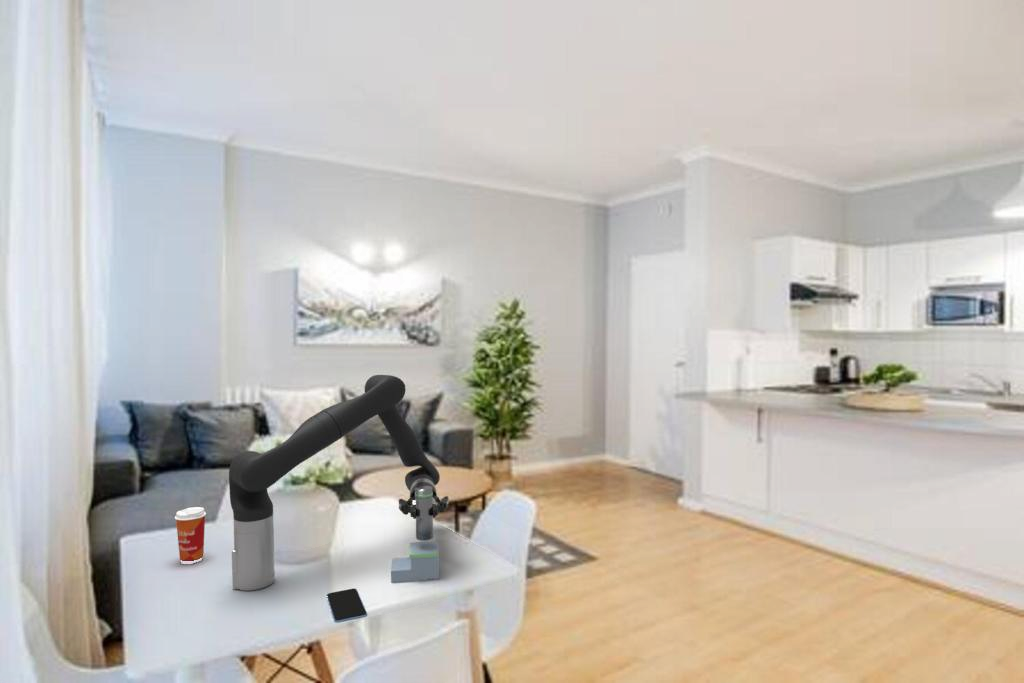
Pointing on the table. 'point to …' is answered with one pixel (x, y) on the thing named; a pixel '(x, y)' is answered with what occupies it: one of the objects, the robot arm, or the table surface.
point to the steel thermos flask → (424, 513)
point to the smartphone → (346, 605)
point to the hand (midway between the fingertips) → (424, 514)
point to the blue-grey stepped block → (417, 563)
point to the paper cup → (190, 533)
